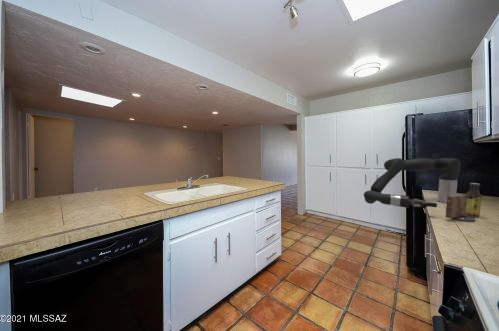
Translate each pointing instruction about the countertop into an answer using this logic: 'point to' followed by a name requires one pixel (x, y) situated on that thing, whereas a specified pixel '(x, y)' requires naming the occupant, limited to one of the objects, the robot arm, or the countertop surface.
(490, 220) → the countertop surface
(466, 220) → the base
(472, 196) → the sauce bottle
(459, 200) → the brown wooden block
